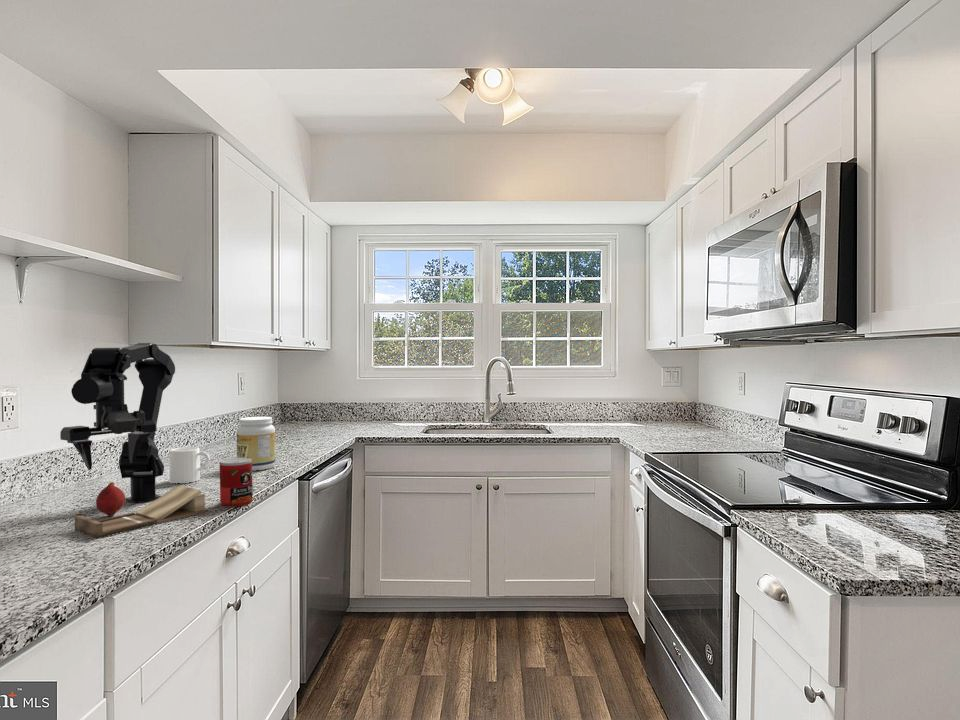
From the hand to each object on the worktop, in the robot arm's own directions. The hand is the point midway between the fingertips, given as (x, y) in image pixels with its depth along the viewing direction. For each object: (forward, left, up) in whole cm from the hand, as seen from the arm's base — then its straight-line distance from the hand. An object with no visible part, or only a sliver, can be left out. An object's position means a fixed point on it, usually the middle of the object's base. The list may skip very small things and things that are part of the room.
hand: (111, 465), depth 135 cm
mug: (-21, +31, -12) cm, 39 cm away
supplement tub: (-22, +54, -12) cm, 59 cm away
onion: (0, 0, -12) cm, 12 cm away
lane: (+11, +2, -12) cm, 16 cm away
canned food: (+15, +23, -12) cm, 30 cm away
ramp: (+11, +8, -12) cm, 18 cm away
